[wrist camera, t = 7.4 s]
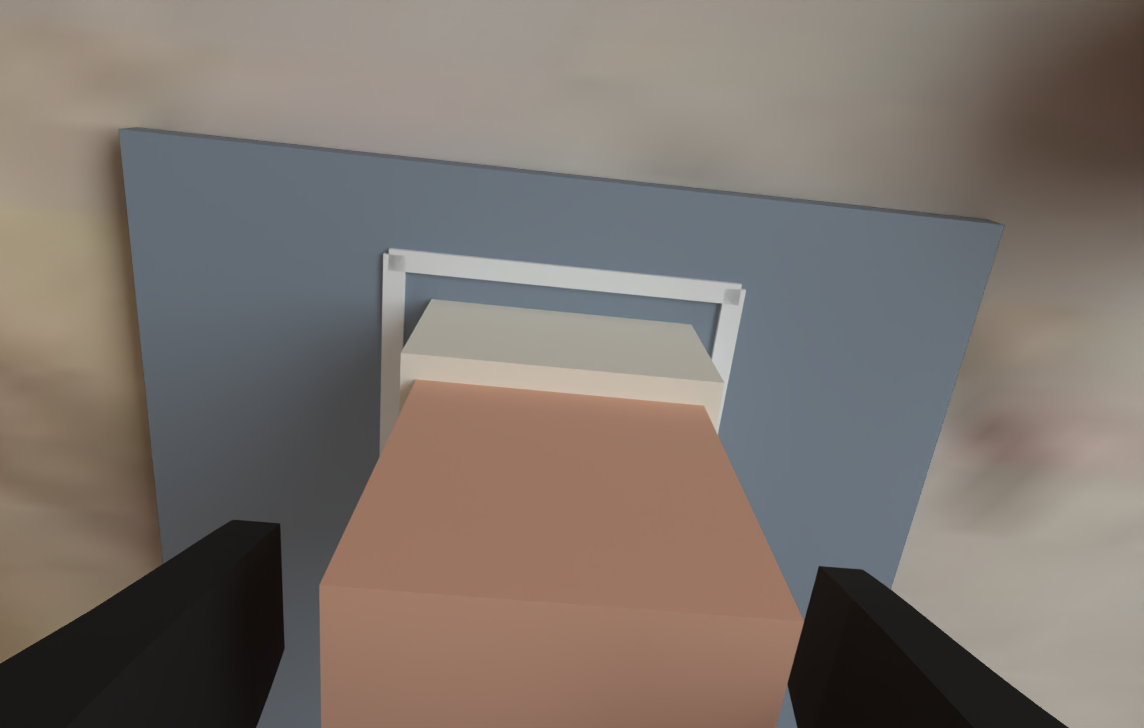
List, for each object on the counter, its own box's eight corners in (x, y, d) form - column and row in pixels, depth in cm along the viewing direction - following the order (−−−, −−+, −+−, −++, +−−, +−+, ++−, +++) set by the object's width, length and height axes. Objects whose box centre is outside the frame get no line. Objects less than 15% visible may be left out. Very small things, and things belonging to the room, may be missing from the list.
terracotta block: (661, 635, 13) (719, 937, 9) (407, 617, 13) (323, 917, 8) (704, 405, 12) (803, 621, 7) (415, 378, 11) (320, 584, 7)
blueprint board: (776, 913, 21) (817, 1069, 18) (208, 884, 20) (139, 1042, 17) (987, 219, 14) (1119, 261, 11) (137, 127, 13) (-4, 142, 10)
